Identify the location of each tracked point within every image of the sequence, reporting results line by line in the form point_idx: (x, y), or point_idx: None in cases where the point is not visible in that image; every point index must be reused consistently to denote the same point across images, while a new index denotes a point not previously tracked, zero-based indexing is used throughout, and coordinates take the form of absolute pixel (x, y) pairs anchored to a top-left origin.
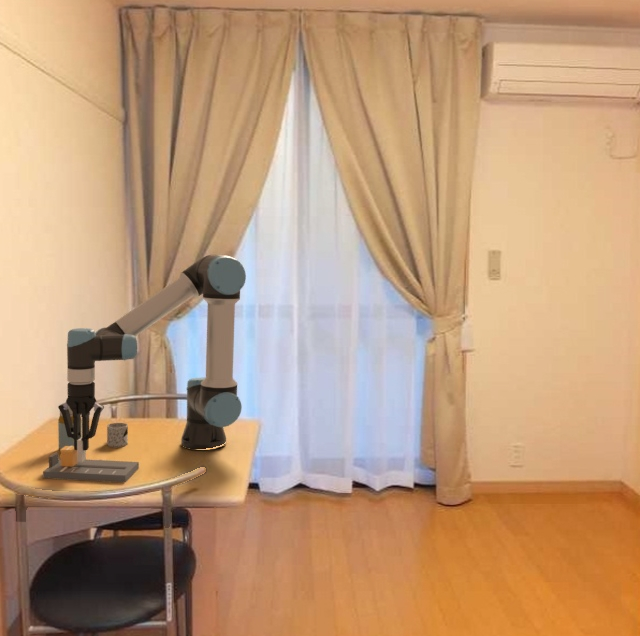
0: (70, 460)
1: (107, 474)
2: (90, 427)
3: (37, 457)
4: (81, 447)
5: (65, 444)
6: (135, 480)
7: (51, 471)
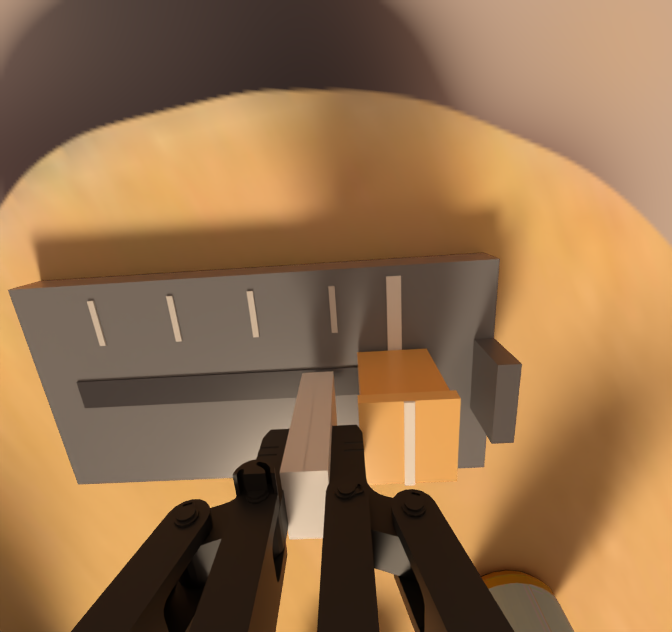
0: (373, 368)
1: (112, 286)
2: (129, 627)
3: (617, 507)
4: (294, 430)
5: (527, 610)
6: (13, 316)
7: (449, 269)
